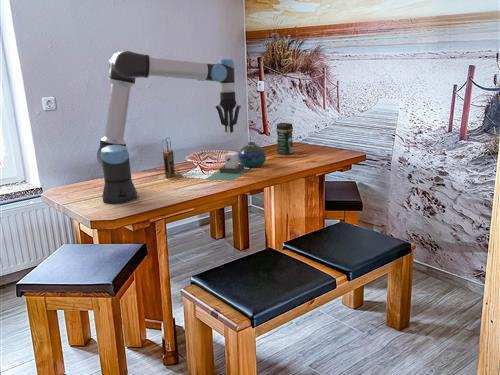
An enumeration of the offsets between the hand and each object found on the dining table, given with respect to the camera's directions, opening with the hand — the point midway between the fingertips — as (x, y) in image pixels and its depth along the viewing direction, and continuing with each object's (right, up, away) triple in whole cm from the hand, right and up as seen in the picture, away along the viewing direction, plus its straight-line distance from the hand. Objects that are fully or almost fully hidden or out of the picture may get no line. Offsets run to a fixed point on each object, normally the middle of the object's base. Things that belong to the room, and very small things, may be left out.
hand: (229, 138), depth 244 cm
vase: (+12, -14, +18) cm, 25 cm away
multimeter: (-28, -19, +6) cm, 34 cm away
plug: (+1, -16, +5) cm, 17 cm away
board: (-1, -19, 0) cm, 19 cm away
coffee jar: (+32, -4, +47) cm, 57 cm away
